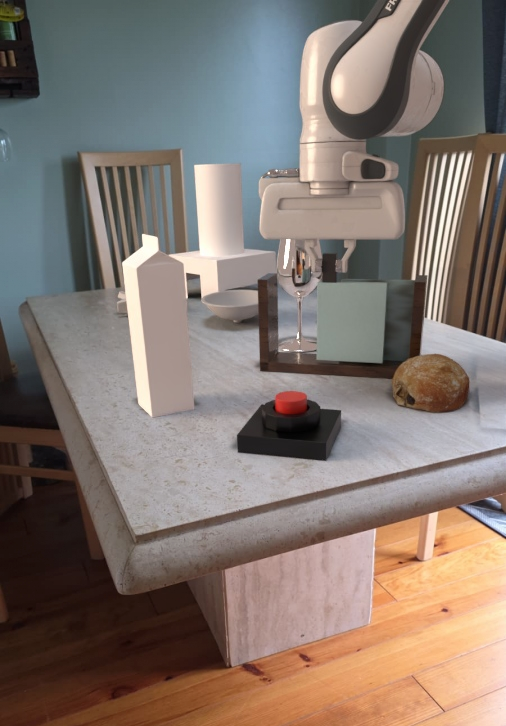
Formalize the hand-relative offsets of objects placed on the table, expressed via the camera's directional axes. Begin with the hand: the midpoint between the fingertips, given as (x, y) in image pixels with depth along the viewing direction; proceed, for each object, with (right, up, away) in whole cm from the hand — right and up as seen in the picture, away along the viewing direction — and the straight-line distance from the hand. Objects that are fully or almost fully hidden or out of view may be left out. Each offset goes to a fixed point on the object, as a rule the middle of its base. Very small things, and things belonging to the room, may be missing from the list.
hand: (329, 272), depth 90 cm
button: (-7, -21, -19) cm, 29 cm away
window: (+4, -12, +5) cm, 13 cm away
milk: (-23, -20, -6) cm, 31 cm away
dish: (-14, +1, +39) cm, 42 cm away
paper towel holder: (-18, +14, +68) cm, 72 cm away
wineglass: (-3, -8, +20) cm, 21 cm away
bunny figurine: (-37, +5, +50) cm, 63 cm away
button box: (-7, -24, -17) cm, 31 cm away
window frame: (+2, -13, +7) cm, 15 cm away
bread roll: (+13, -19, -6) cm, 24 cm away
